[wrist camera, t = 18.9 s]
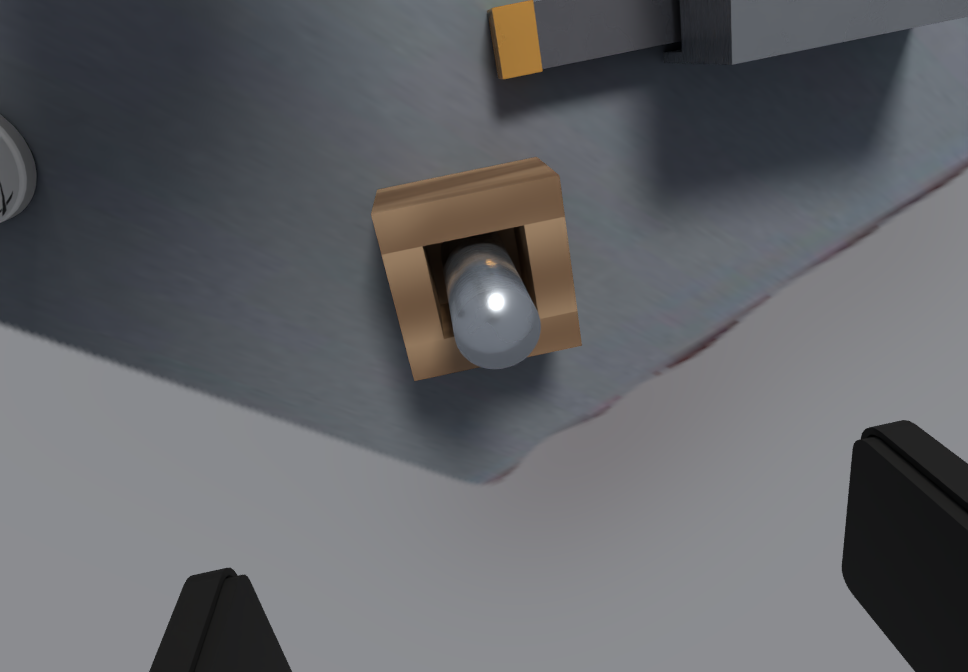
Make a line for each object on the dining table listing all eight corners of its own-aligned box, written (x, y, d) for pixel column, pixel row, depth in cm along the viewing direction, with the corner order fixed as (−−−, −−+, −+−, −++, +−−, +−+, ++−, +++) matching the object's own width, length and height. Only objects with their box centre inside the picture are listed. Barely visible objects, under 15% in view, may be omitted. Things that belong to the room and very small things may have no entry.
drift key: (487, 10, 32) (492, 8, 31) (794, -51, 33) (817, -58, 31) (497, 77, 34) (503, 79, 32) (793, 18, 34) (815, 15, 32)
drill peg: (435, 228, 36) (446, 297, 26) (498, 217, 36) (535, 281, 26) (446, 288, 37) (462, 376, 27) (507, 277, 37) (545, 360, 27)
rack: (377, 189, 35) (371, 214, 30) (536, 156, 36) (559, 175, 30) (413, 335, 39) (414, 381, 34) (558, 305, 39) (581, 345, 34)
